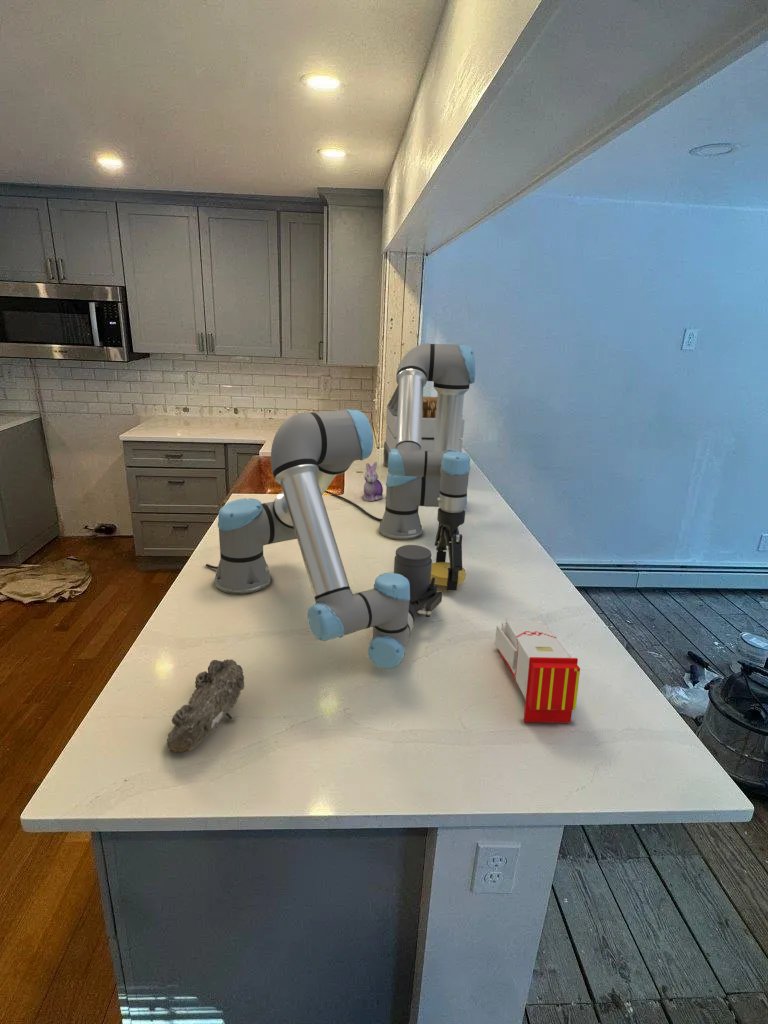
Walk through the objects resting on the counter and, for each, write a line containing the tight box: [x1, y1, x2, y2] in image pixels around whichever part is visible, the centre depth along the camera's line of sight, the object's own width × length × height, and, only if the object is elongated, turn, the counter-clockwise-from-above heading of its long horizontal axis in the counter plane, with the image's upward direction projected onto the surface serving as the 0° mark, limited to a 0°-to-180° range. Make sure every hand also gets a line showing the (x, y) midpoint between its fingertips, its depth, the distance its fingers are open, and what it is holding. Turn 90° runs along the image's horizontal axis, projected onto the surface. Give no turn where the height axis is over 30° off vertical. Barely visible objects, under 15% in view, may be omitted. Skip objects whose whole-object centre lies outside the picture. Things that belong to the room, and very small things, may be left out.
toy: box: [494, 619, 581, 724], centre depth 121 cm, size 12×13×30 cm
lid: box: [430, 561, 466, 587], centre depth 163 cm, size 11×11×2 cm
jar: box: [393, 544, 433, 616], centre depth 149 cm, size 10×10×16 cm
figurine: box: [362, 461, 384, 502], centre depth 233 cm, size 9×10×15 cm
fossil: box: [166, 658, 245, 754], centre depth 106 cm, size 22×10×15 cm
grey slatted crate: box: [383, 385, 465, 468], centre depth 268 cm, size 34×33×41 cm
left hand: (414, 579), depth 153 cm, fingers closed on jar, 10 cm apart
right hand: (445, 580), depth 163 cm, fingers closed on lid, 11 cm apart
